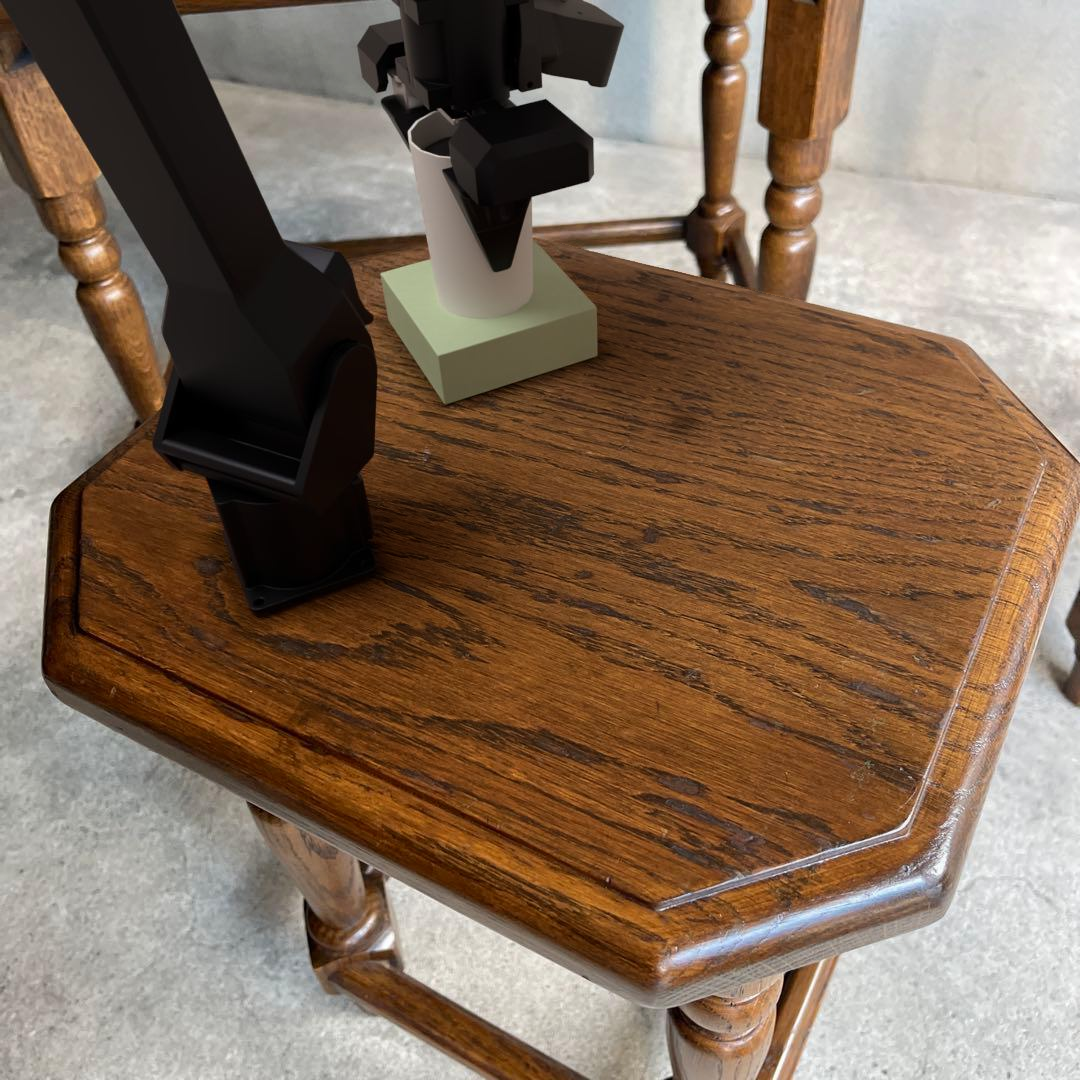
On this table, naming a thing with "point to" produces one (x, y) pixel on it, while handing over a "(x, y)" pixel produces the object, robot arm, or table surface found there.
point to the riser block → (490, 330)
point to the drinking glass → (462, 235)
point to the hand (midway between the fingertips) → (480, 245)
